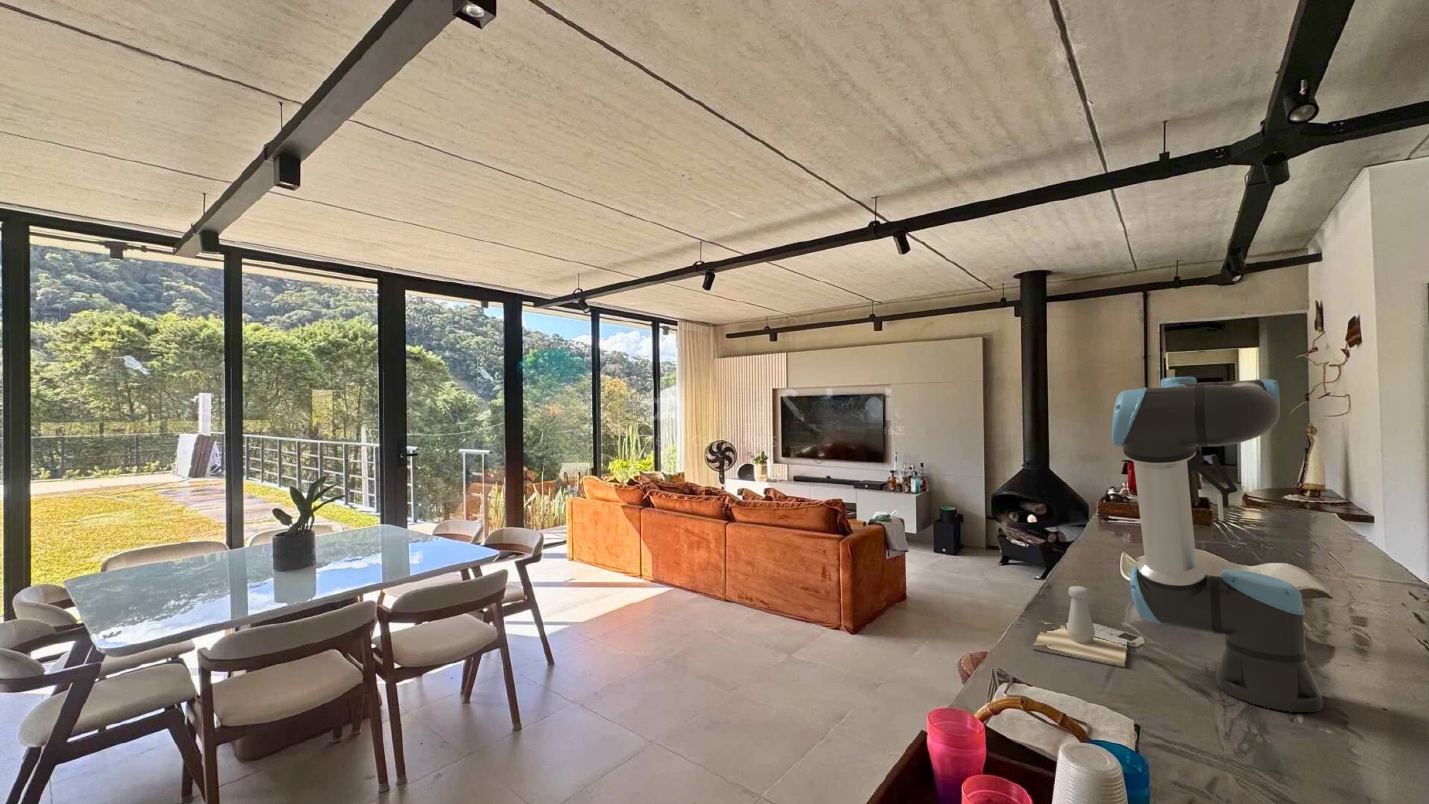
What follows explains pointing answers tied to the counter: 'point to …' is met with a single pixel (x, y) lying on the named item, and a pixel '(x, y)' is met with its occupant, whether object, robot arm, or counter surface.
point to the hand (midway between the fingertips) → (1186, 517)
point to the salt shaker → (1080, 616)
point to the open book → (1083, 646)
